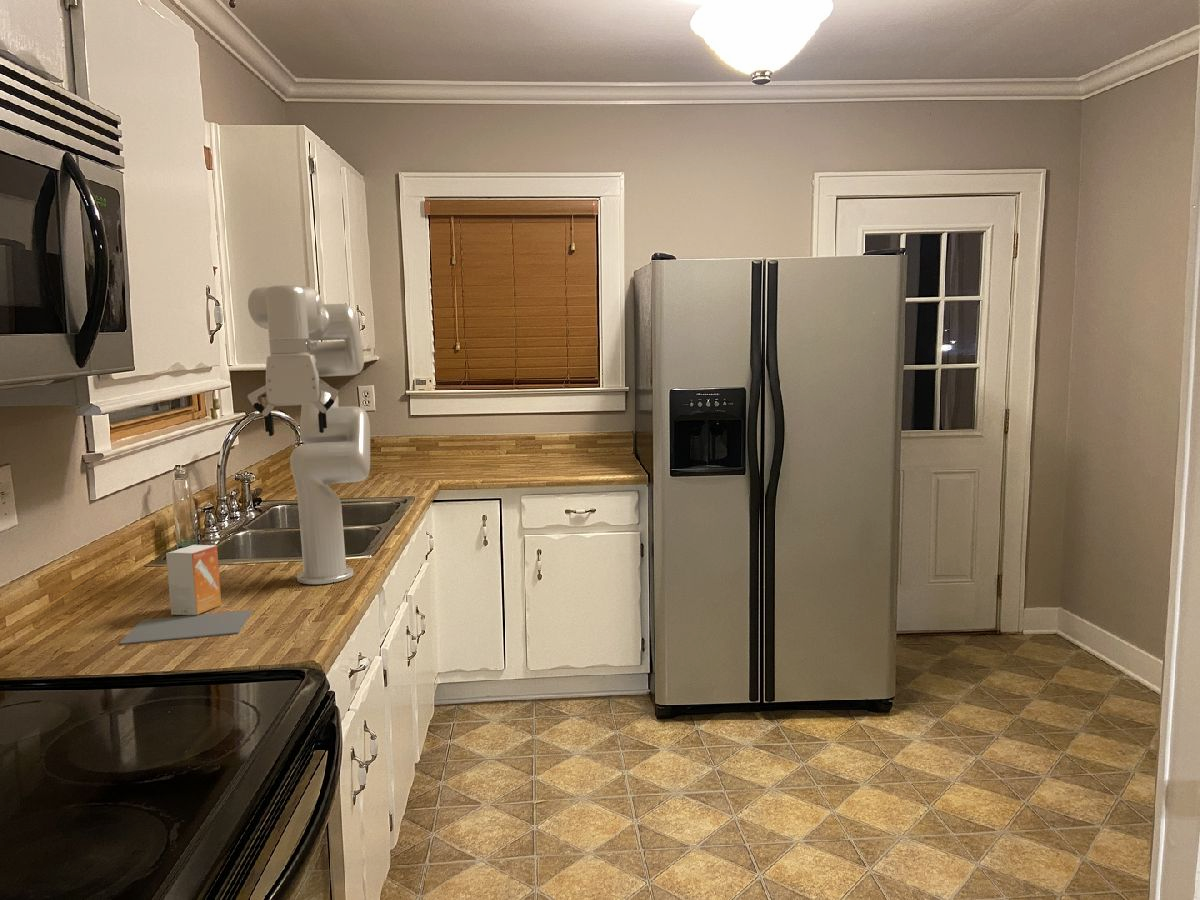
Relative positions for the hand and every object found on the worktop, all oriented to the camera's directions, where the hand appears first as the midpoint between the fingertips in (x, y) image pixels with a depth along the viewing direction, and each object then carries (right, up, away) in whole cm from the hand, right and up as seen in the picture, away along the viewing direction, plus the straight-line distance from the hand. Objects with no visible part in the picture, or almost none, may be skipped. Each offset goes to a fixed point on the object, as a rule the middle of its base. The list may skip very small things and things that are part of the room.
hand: (296, 433), depth 178 cm
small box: (-23, -37, +6) cm, 44 cm away
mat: (-20, -38, -5) cm, 43 cm away
